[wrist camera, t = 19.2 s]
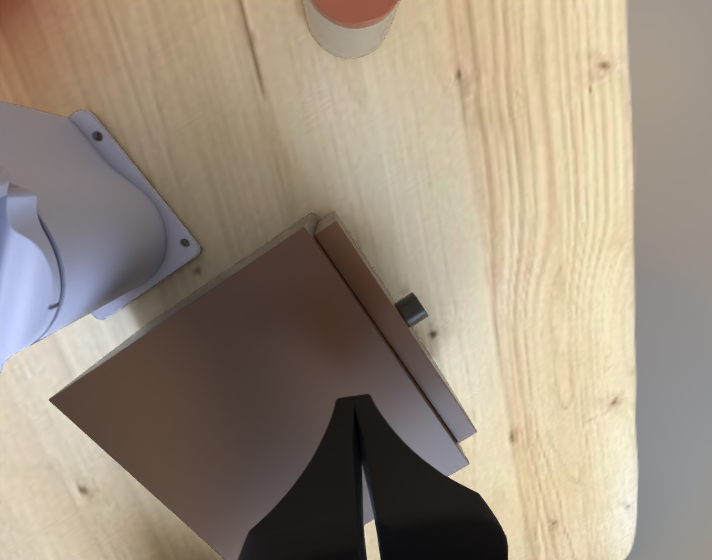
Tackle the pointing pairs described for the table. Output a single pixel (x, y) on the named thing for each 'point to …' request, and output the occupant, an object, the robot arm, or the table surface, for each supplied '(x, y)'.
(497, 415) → the table surface
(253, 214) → the table surface
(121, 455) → the cabinet
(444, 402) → the drawer
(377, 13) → the pot
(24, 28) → the table surface
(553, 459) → the table surface
